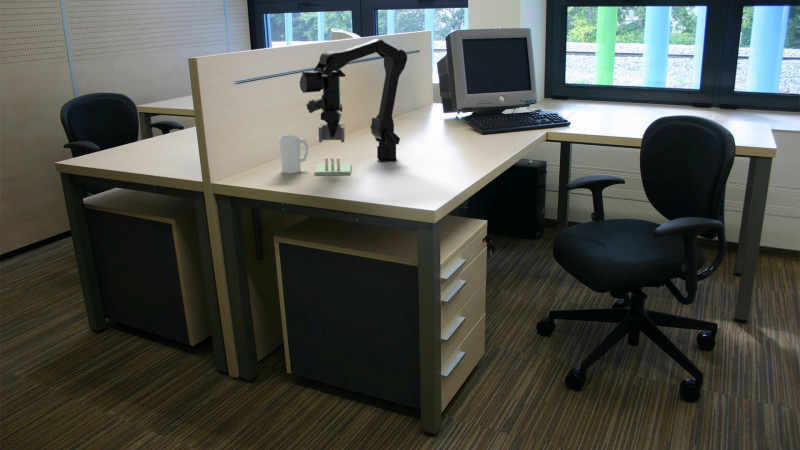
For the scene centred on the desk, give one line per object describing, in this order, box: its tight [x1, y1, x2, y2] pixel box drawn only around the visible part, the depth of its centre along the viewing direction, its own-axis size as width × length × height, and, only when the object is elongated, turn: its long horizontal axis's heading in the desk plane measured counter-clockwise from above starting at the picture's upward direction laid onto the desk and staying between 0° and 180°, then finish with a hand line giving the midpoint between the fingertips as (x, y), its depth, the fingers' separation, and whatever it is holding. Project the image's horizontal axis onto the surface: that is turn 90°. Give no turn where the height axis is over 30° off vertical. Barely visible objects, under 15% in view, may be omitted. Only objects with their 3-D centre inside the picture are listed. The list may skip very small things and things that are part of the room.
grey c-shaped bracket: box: [318, 123, 346, 143], centre depth 226 cm, size 6×8×5 cm
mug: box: [279, 134, 309, 175], centre depth 226 cm, size 10×7×12 cm, turn 124°
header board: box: [314, 158, 352, 176], centre depth 228 cm, size 12×12×5 cm
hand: (332, 136), depth 228 cm, fingers closed on grey c-shaped bracket, 2 cm apart
